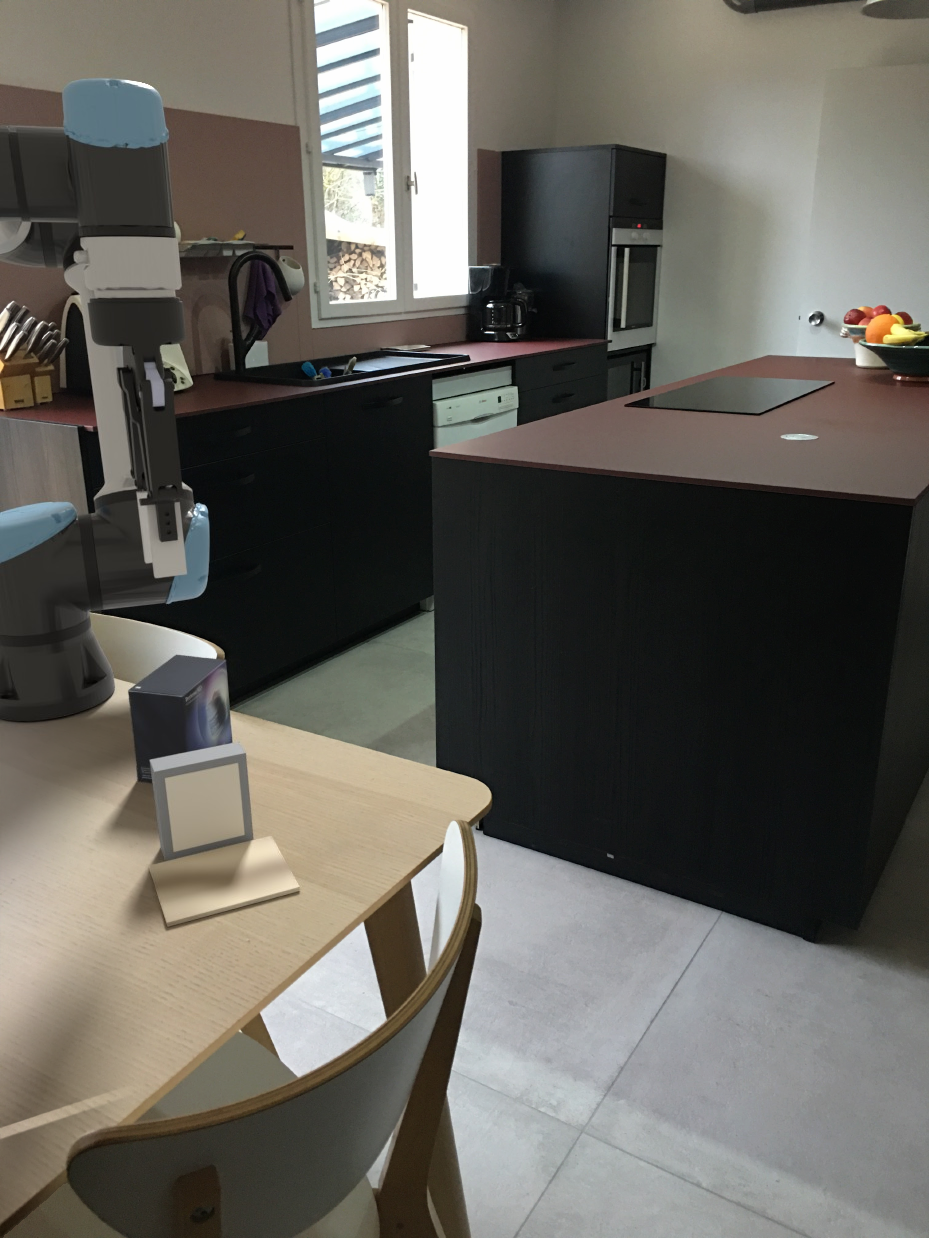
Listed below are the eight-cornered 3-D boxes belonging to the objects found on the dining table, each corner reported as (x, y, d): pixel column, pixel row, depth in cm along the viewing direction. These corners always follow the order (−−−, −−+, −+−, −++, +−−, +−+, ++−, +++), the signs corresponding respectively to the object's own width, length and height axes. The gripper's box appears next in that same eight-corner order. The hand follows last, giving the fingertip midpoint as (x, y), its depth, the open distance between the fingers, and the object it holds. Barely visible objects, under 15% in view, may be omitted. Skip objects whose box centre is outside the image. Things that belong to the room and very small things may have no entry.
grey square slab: (160, 847, 89) (149, 759, 86) (247, 826, 93) (239, 741, 90) (165, 861, 87) (154, 772, 84) (253, 840, 90) (246, 753, 87)
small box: (193, 789, 99) (183, 695, 96) (135, 783, 101) (122, 690, 97) (236, 743, 109) (228, 656, 106) (183, 739, 110) (173, 652, 107)
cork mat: (149, 869, 86) (148, 865, 86) (271, 839, 90) (271, 835, 90) (167, 926, 78) (166, 922, 78) (299, 890, 83) (299, 886, 83)
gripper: (75, 294, 86) (109, 549, 94) (99, 296, 71) (136, 600, 79) (163, 293, 89) (188, 540, 97) (203, 295, 74) (229, 588, 82)
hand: (165, 567), depth 88 cm, fingers open, 4 cm apart
